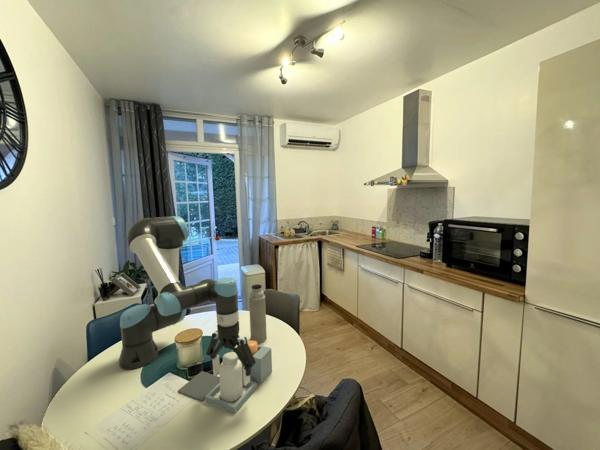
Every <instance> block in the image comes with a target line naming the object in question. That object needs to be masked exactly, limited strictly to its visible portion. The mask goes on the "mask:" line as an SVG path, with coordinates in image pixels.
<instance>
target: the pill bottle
mask: <svg viewBox="0 0 600 450" xmlns="http://www.w3.org/2000/svg"><path fill="white" fill-rule="evenodd" d="M218 374H219V377H220V391H219V394H220V400H223V401H225V402H228V403H231V402H235V401H238V400H239V399H240V398H241V397H242V395H243V393H244V392H243V391H244V388H243V386H244V385H242V364H241V361H240V360H238V356H237V354H236V353H235V352H231V351H229V352H226V353H224V354H223V356H222V362H221V363H220V367H219V373H218Z"/></svg>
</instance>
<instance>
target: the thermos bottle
mask: <svg viewBox="0 0 600 450" xmlns="http://www.w3.org/2000/svg"><path fill="white" fill-rule="evenodd" d="M262 287H263V286H262V285H261V284H252V285H251V290H250V293H249V297H248V305H249V306H248V307H249V328H250V329H249V330H250V341H256V342H257V344H259V343H263V342H265V341H267V336H268V335H267V333H268V332H267V314H266V312H267V310H266V308H267V307H266V295H265V292H264V291H263V289H262Z"/></svg>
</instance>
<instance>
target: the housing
mask: <svg viewBox="0 0 600 450" xmlns="http://www.w3.org/2000/svg"><path fill="white" fill-rule="evenodd" d="M257 346H258V351H257V352H256V353H255V354H254V355H253V357H254V359H255V361H256V363H255V364H254V365H253V366H252V367H251V374H250V382H249V383H248V384H247V385H246V386H245V387H246V388H247V387H248V389H247V390H246V391H245V392H243V393H242V395H241V397H240V398H239V399H237V400H236V402H235V403H234V404H233V403H231V402H225V401H223V400H222V399H221V398H217V397H215V396H216V395H217V394H218V393H220V383H219V384H218V385H217V386H216V387H215V388H213V389H212V390H211V391H210V392H209V393H208V394H207V395H206V396H205V400H204V401H205V402H206V403H208V404H210V405H212V406H215V407H218V408H220V409H221V410H222V409H223V410H225V411H228V412H230V413H233V414H236V413H237V412H238V410H239V409H240V408H241V407H242V406H243V404H245V402H246V401H247V400H248V399H249V397H250V396H251V395H252V394H253V393H254V392H255V390H256V389H257V387H258V386H257V385H258V384H263V382H264V381H265V380H267V378H268V377H269V375H270V374H271V373H272V372H273V361H272V358H273V357H272V348H271V347H268V346H264V345H259V344H257ZM237 347H238V346H237V345H236V347H235V348H237ZM230 352H233V350H232V349H231V351H230ZM238 360H240V359H239V357H238ZM240 361H241V360H240ZM241 364H242V362H241ZM243 367H244V365H243V364H242V385H243V386H244V382H243Z"/></svg>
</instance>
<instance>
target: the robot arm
mask: <svg viewBox="0 0 600 450" xmlns="http://www.w3.org/2000/svg"><path fill="white" fill-rule="evenodd" d="M188 238H189V228H188V224H187V223H186V220H184V219H183V218H182V217H181V216H178V215H175V216H173V215H172V216H171V215H169V216H157V217H144V218H141V219H139V220H136V222H134V223H133V224H132V225H131V226H130V228H129V230H128V232H127V234H126V243H127V247H128V248H129V250H130V251H131V252H132V253H133V254H136V256H137V258H138V260H139V261H140V263H141V266H143V269H144V270H145V272H146V273H147V276H148V277H149V279H150V281H151V283H152V284H153V286H154V288H155V289H156V291H157V296H156V297H155V299H154V302H153V303H154V305H149V304H145V303H144V304H139V305H135V306H131V307H129V308H128V309H126V310H125V311H123V313H122V314H121V315H120V316H119V327H120V334H121V343H122V344H121V346H122V347H121V348H122V349H121V350H120V355H119V358H118V363H119V364H118V365H119V367H120V368H121V369H122V370H134V369H138V368H141V367H145V366H146V365H149V364H150V363H153V362H154V361H155V360H156V359H157V358H158V356H159V348H158V346H157V344H156V342H155V340H154V338H153V333H155V332H158V331H159V330H162V329H165V328H167V327H170V326H174V325H177V324H178V323H180V322H182V321H183V320H184V319H185V317H186V316H187V315H186V314H187V310H188V309H191V308H194V307H197V306H201V305H203V304H206V303H208V302H209V303H213V304H215V312H216V324H217V325H216V328H217V330H216V331H214V332H213V333H212V334H211V340H210V343H209V346H208V348H207V351H206V356H210V360H211V361H210V362H211V366H212V371H213V372H212V373H213V374H212V375H214V376H217V375H218V374H219V367H220V365H221V363H220V355H219V353H220V351H221V350H222V349H223V348H225V349H229V350H231V351H232V350H233V352H235V353H236V354H237V356H238V357H239V359H240V360H241V362H242V364H243V365H244V367H243V382H244V385H243V386H244V387H247V386H246V385H247V384H248V383H249V382H250V374H251V367H252V366H253V365H254V364H255V363H256V361H255V359H254V357H253V355H252V352H251V350H250V348H249V346H248V343H247V342H248V338H247V336H244V337H240V335H239V333H240V322H239V320H240V315H239V313H240V312H239V299H238V296H239V295H238V294H239V293H238V291H239V289H238V283H237V279H236V278H232V277H221V278H218V279H217V280H215V279H212V278H205V277H204V278H201V279H200V280H199V281H197V282H196V283H195V284H191V285H188V286H183V284H182V283H181V282H180V280H179V277H180V276H179V274H180V273H179V267H180V263H179V262H180V249H181V248H183V245H184V244H183V243H184V242H185V241H187V239H188ZM218 340H219V343H218ZM217 343H218V344H217ZM237 346H238V347H237ZM236 347H237V348H236Z"/></svg>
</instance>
